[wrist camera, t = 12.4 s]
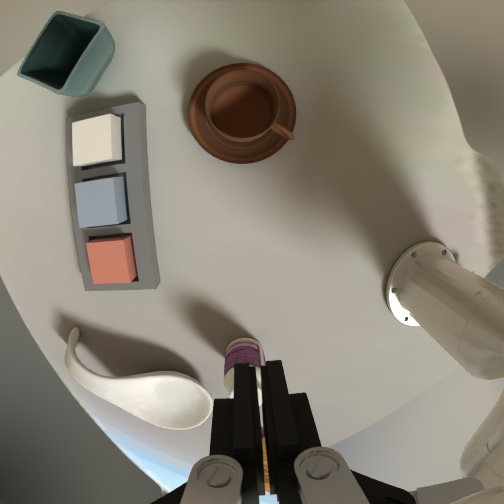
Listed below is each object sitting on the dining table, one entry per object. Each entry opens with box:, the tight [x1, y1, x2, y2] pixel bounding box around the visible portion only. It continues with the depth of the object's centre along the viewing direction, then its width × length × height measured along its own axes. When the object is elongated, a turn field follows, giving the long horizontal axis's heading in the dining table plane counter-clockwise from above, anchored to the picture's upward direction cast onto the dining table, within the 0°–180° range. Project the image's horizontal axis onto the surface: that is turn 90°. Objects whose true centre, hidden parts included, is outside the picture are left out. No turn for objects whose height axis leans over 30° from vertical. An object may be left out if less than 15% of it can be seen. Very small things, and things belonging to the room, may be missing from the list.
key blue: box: [75, 177, 127, 228], centre depth 31 cm, size 5×5×3 cm
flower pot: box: [17, 11, 115, 97], centre depth 26 cm, size 9×9×9 cm
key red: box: [86, 235, 138, 284], centre depth 34 cm, size 5×5×3 cm
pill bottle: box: [224, 338, 266, 406], centre depth 36 cm, size 5×5×10 cm
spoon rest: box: [65, 327, 213, 430], centre depth 38 cm, size 24×12×7 cm, turn 62°
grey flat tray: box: [67, 102, 160, 291], centre depth 33 cm, size 10×22×2 cm, turn 3°
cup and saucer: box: [188, 63, 296, 164], centre depth 30 cm, size 12×12×6 cm
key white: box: [72, 114, 122, 166], centre depth 29 cm, size 5×5×3 cm
